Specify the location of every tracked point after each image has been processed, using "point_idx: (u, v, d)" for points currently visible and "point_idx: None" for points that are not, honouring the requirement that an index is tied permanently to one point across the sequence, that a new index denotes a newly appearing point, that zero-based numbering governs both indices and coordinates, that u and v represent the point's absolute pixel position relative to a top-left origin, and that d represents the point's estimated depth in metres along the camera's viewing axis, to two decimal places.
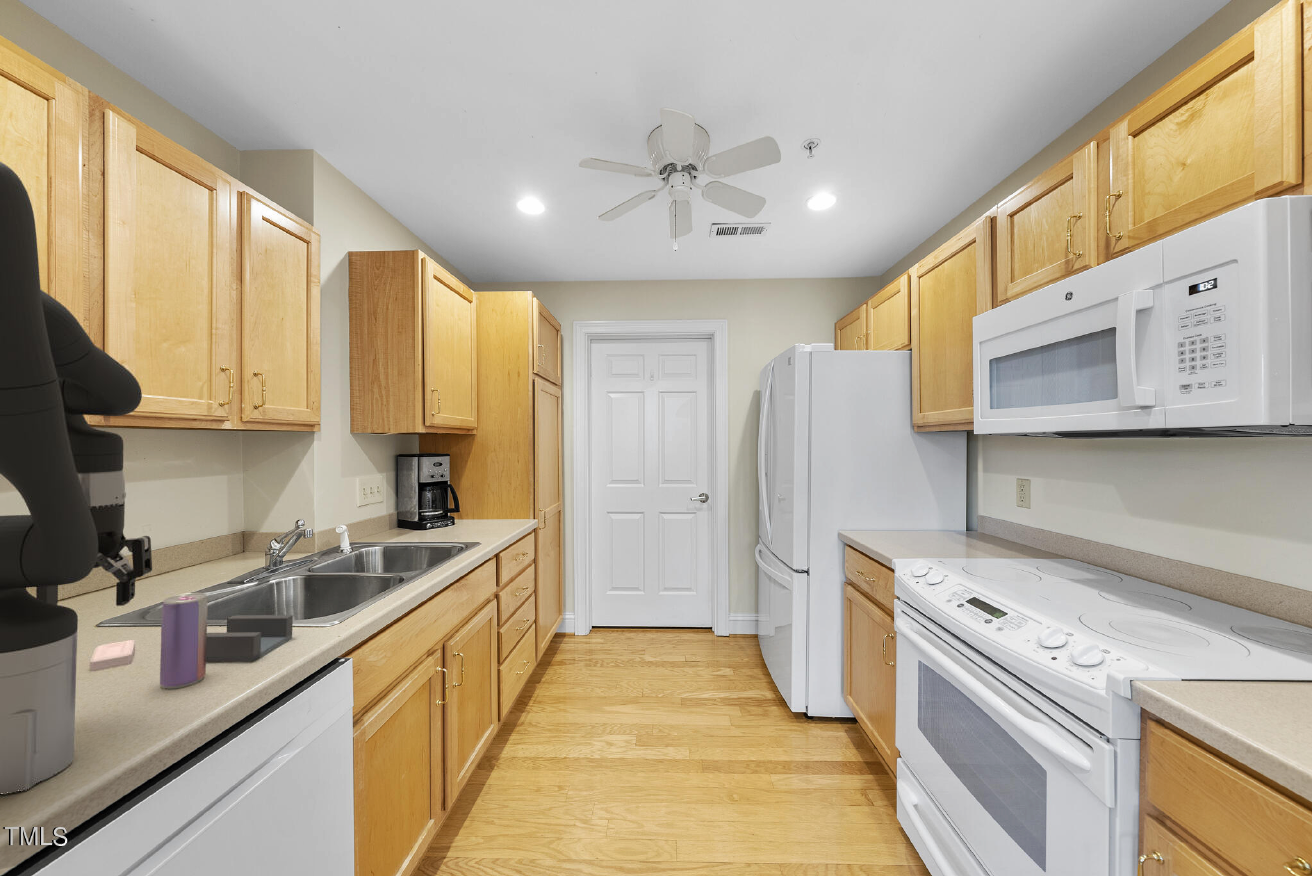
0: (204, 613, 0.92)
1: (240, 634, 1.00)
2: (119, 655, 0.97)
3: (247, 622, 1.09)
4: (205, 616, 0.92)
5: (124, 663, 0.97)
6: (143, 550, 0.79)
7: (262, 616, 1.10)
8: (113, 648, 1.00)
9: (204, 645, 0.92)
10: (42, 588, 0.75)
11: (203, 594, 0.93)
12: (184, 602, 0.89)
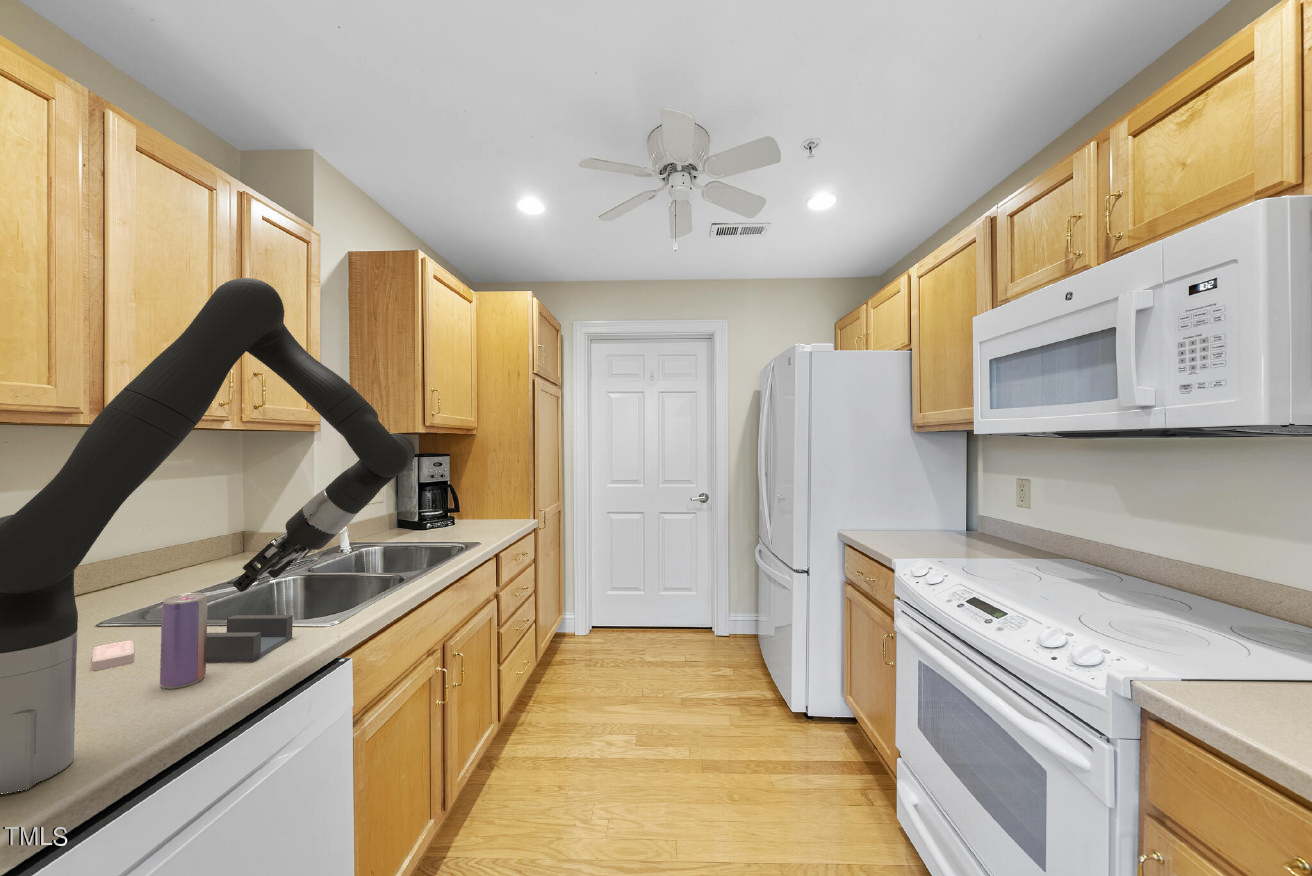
0: (204, 613, 0.92)
1: (240, 634, 1.00)
2: (121, 654, 0.97)
3: (247, 622, 1.09)
4: (205, 616, 0.92)
5: (126, 662, 0.97)
6: (261, 552, 0.86)
7: (262, 616, 1.10)
8: (111, 648, 1.00)
9: (204, 645, 0.92)
10: None
11: (203, 594, 0.93)
12: (184, 602, 0.89)
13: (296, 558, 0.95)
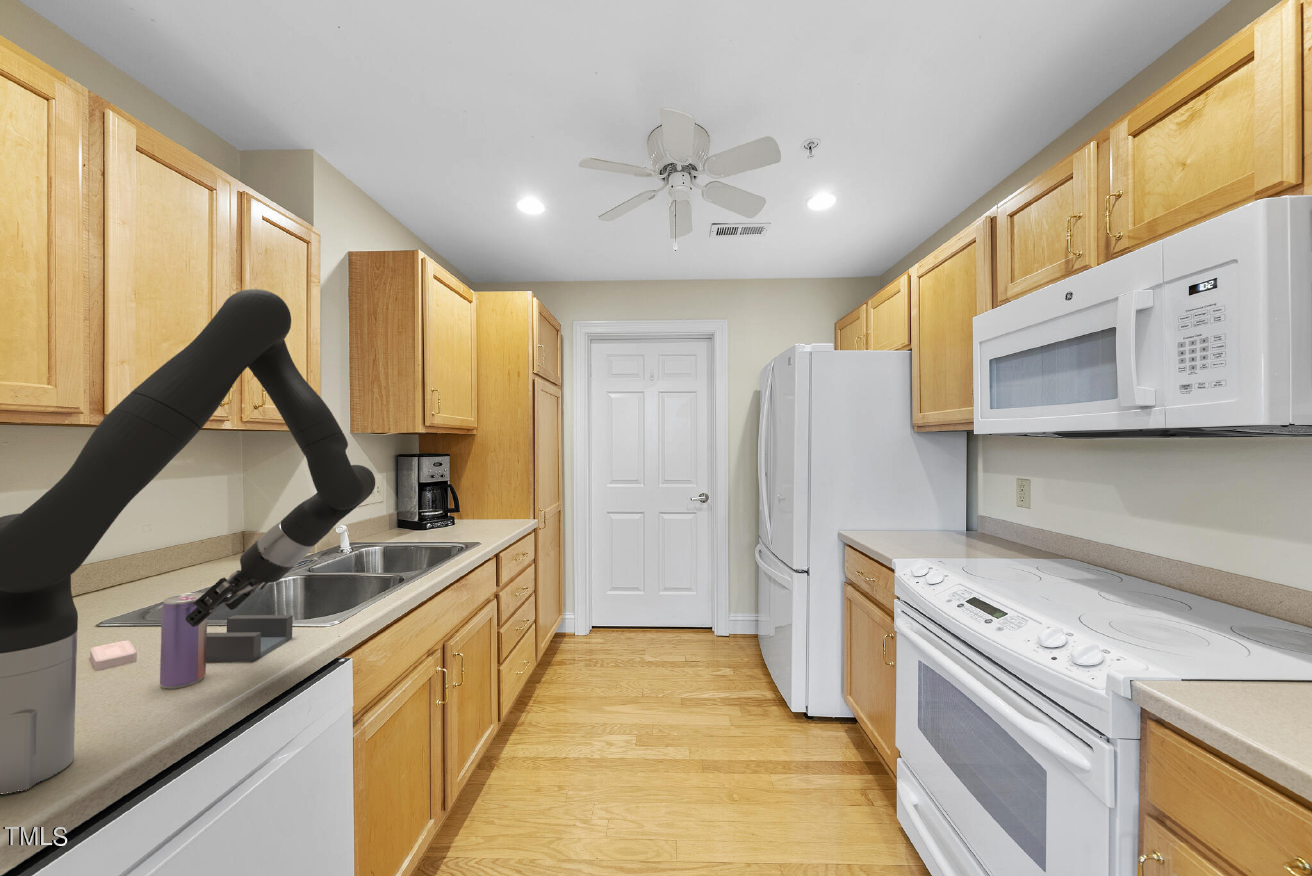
0: None
1: (240, 634, 1.00)
2: (125, 654, 0.97)
3: (247, 622, 1.09)
4: None
5: (130, 661, 0.98)
6: (213, 588, 0.85)
7: (262, 616, 1.10)
8: (110, 649, 1.00)
9: (204, 645, 0.92)
10: None
11: None
12: (184, 602, 0.89)
13: (253, 590, 0.94)
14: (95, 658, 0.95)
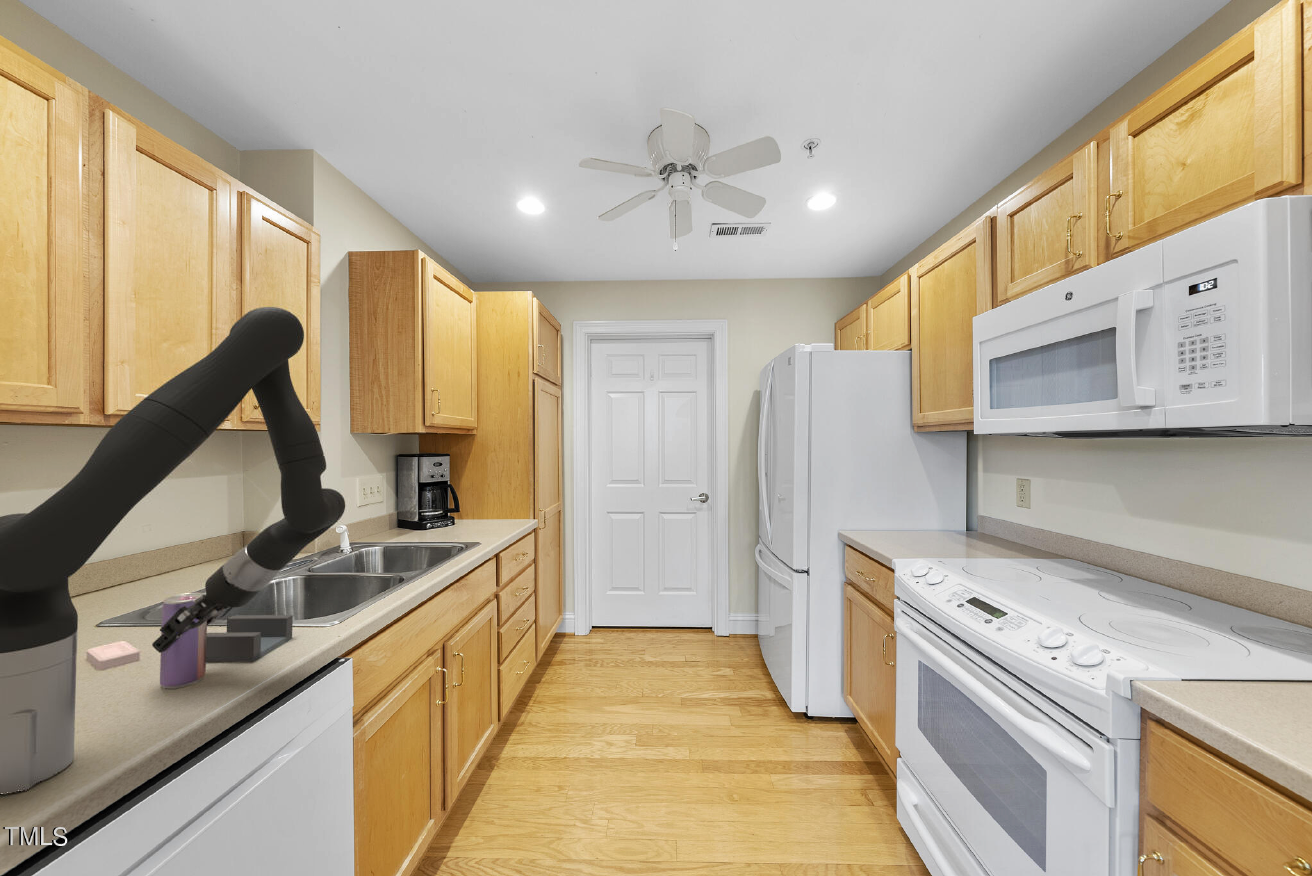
0: None
1: (240, 634, 1.00)
2: (128, 652, 0.98)
3: (247, 622, 1.09)
4: None
5: (134, 660, 0.98)
6: (174, 617, 0.85)
7: (262, 616, 1.10)
8: (108, 649, 1.00)
9: (204, 645, 0.92)
10: None
11: (203, 594, 0.93)
12: (184, 602, 0.89)
13: (216, 616, 0.93)
14: (97, 658, 0.95)
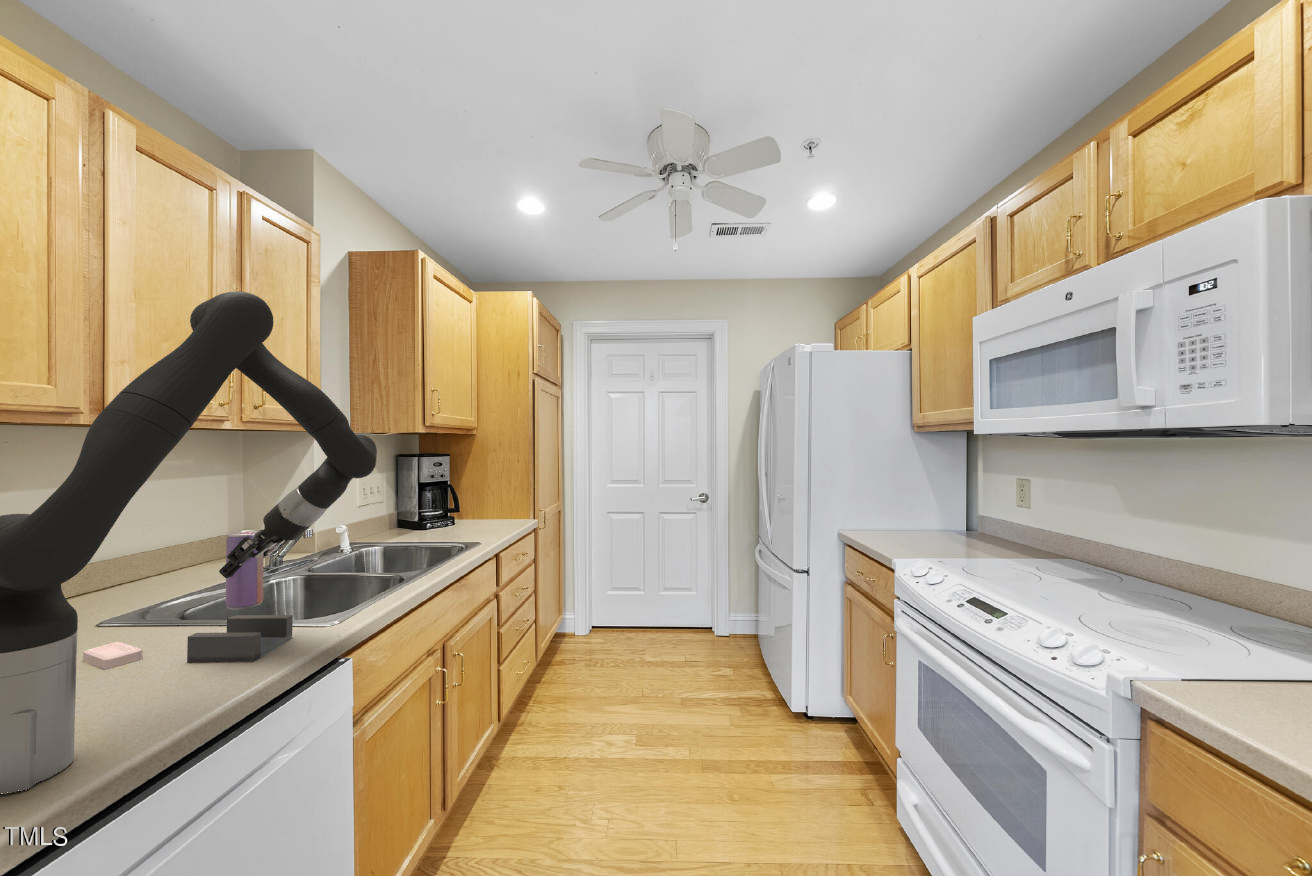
0: None
1: (240, 634, 1.00)
2: (132, 651, 0.98)
3: (247, 622, 1.09)
4: None
5: (137, 658, 0.99)
6: (239, 545, 0.98)
7: (262, 616, 1.10)
8: (106, 650, 1.00)
9: (262, 574, 1.05)
10: None
11: None
12: (245, 535, 1.02)
13: (271, 549, 1.06)
14: (101, 657, 0.96)
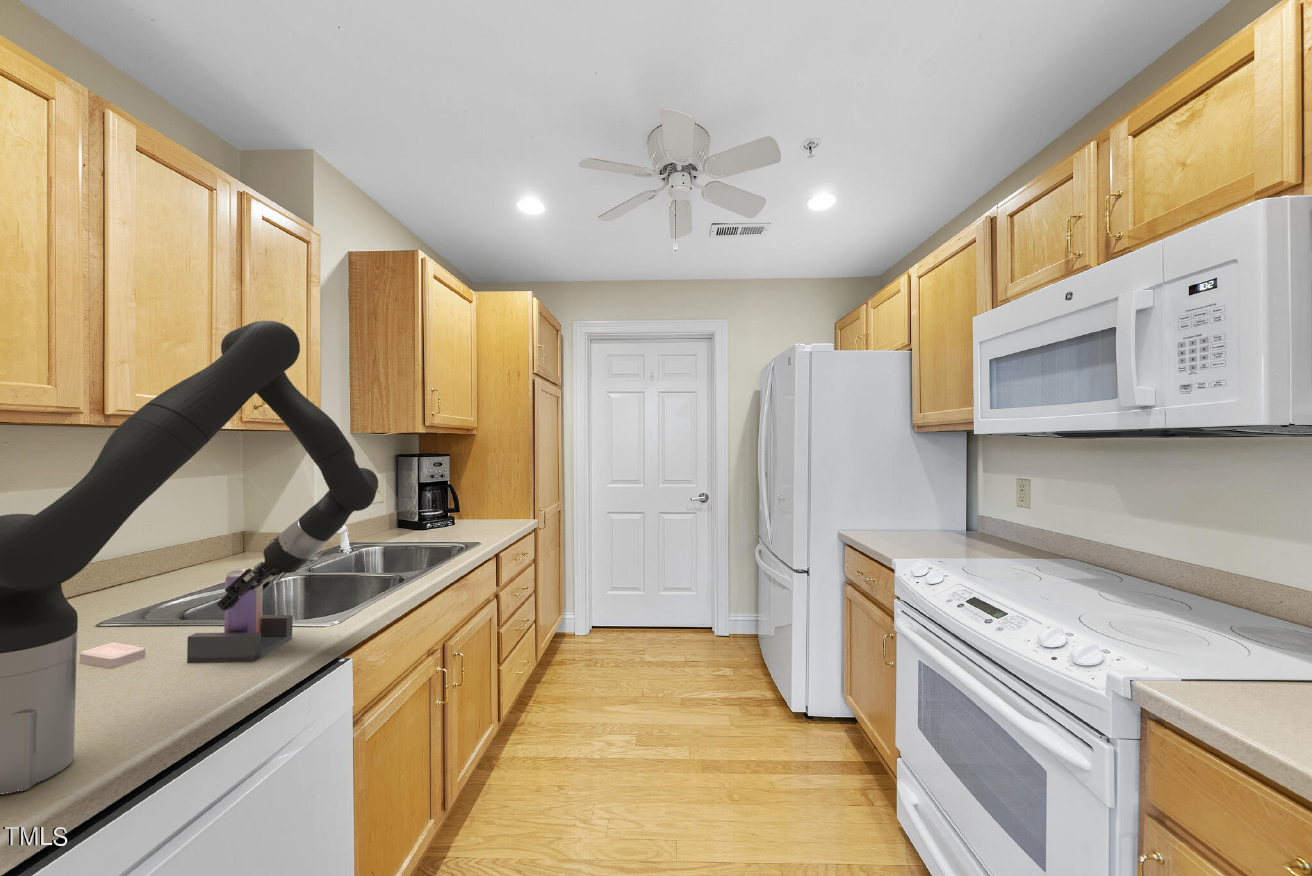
0: (260, 586, 1.05)
1: (240, 634, 1.00)
2: (135, 650, 0.99)
3: None
4: (261, 588, 1.05)
5: (141, 657, 1.00)
6: (240, 577, 0.98)
7: (262, 616, 1.10)
8: (103, 650, 0.99)
9: (261, 613, 1.05)
10: None
11: None
12: None
13: (273, 580, 1.07)
14: (105, 657, 0.96)
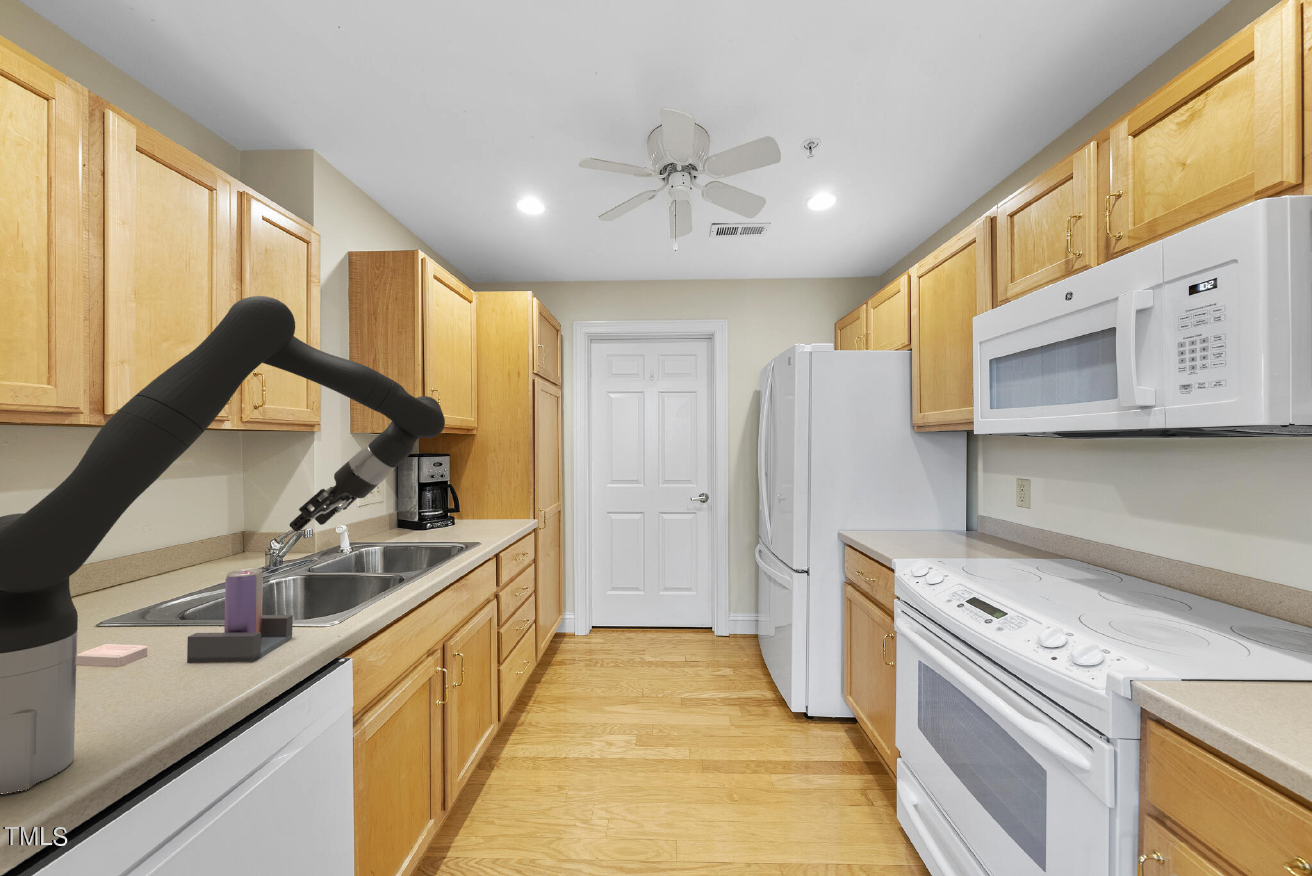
0: (260, 585, 1.05)
1: (240, 634, 1.00)
2: (139, 648, 1.00)
3: None
4: (261, 588, 1.05)
5: (144, 655, 1.00)
6: (315, 496, 0.99)
7: (262, 616, 1.10)
8: (101, 651, 0.99)
9: (261, 613, 1.05)
10: (326, 507, 1.10)
11: (259, 569, 1.07)
12: (244, 575, 1.02)
13: (341, 507, 1.09)
14: (110, 656, 0.96)
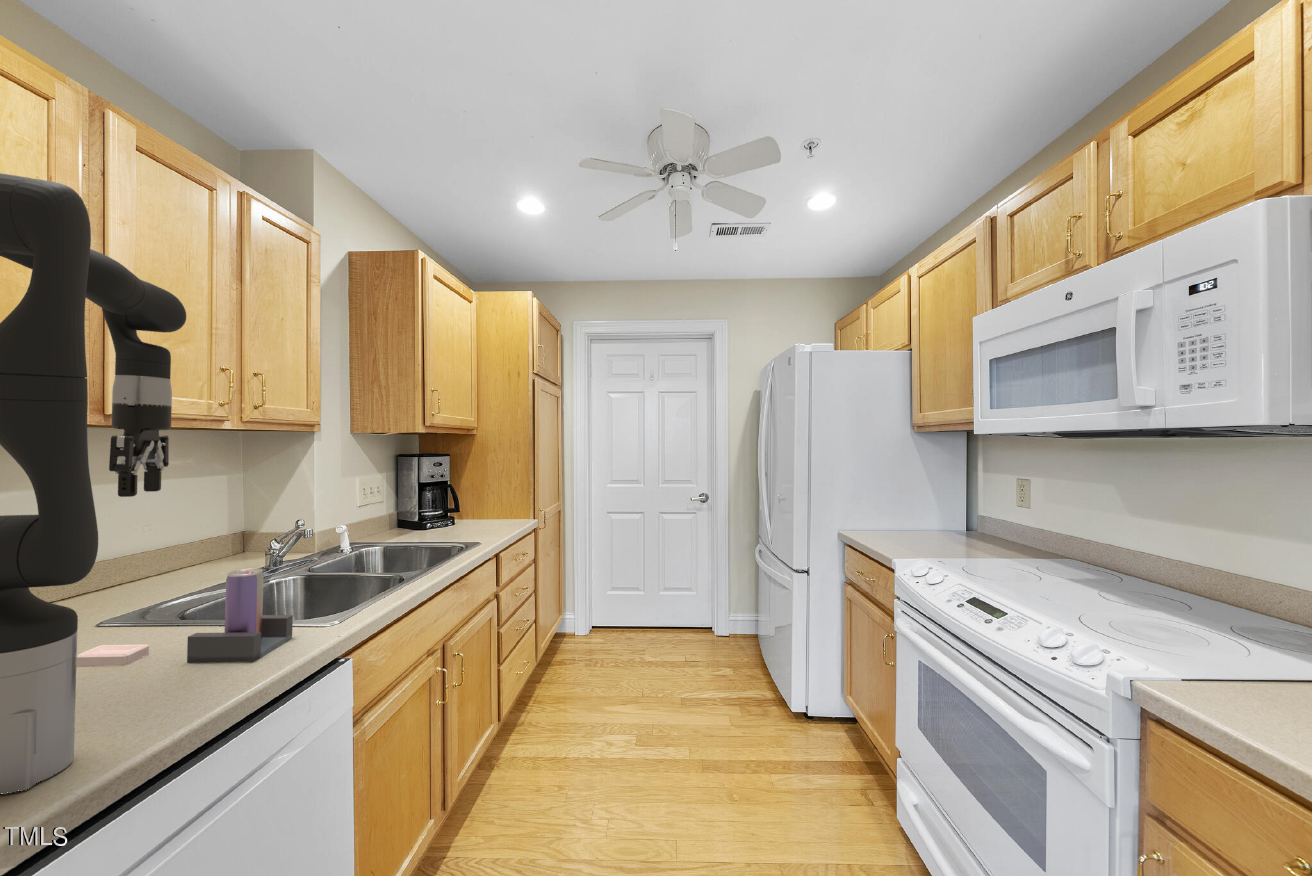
0: (261, 586, 1.05)
1: (240, 634, 1.00)
2: (142, 647, 1.00)
3: None
4: (262, 588, 1.05)
5: (147, 653, 1.01)
6: (113, 446, 0.85)
7: (262, 616, 1.10)
8: (99, 652, 0.98)
9: (261, 614, 1.05)
10: None
11: (260, 569, 1.07)
12: (245, 575, 1.02)
13: (158, 457, 0.94)
14: (114, 656, 0.97)
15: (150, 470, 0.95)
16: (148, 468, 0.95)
